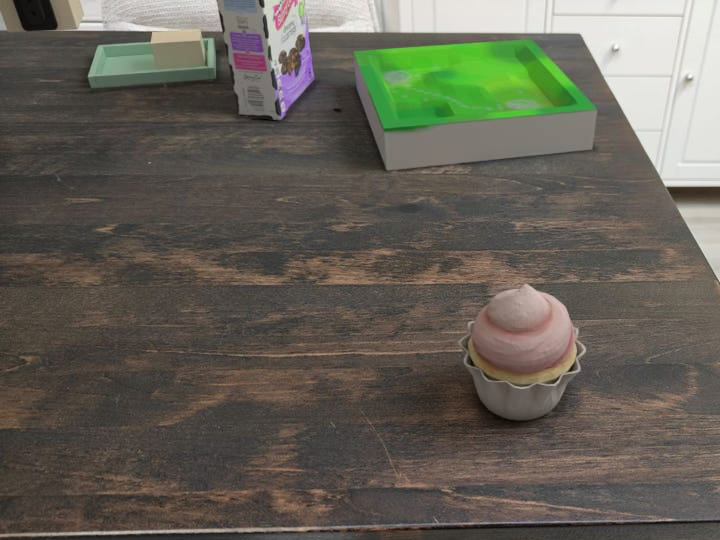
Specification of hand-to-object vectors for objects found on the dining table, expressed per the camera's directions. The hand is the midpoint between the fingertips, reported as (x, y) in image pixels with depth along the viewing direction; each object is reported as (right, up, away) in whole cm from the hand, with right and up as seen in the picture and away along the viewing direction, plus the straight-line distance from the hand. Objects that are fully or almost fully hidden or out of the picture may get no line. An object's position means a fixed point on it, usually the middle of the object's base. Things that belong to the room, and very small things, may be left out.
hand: (45, 18), depth 77 cm
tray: (+43, -4, +19) cm, 48 cm away
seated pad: (+2, +7, +29) cm, 30 cm away
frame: (-1, +6, +29) cm, 30 cm away
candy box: (+18, -1, +22) cm, 29 cm away
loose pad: (0, 0, 0) cm, 0 cm away
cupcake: (+48, -38, -20) cm, 64 cm away
